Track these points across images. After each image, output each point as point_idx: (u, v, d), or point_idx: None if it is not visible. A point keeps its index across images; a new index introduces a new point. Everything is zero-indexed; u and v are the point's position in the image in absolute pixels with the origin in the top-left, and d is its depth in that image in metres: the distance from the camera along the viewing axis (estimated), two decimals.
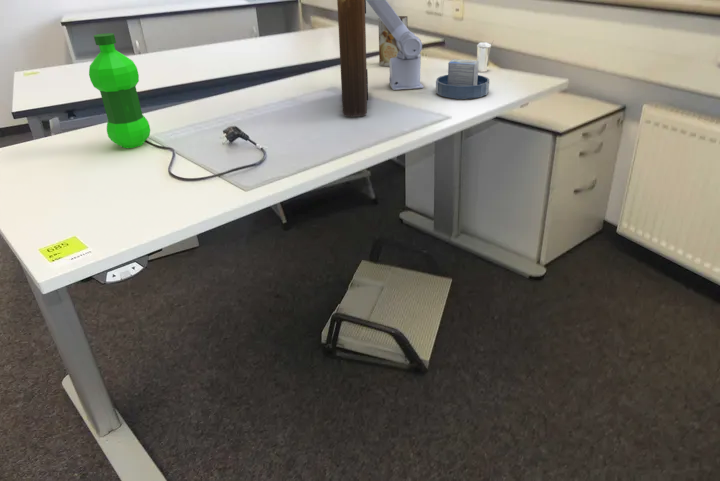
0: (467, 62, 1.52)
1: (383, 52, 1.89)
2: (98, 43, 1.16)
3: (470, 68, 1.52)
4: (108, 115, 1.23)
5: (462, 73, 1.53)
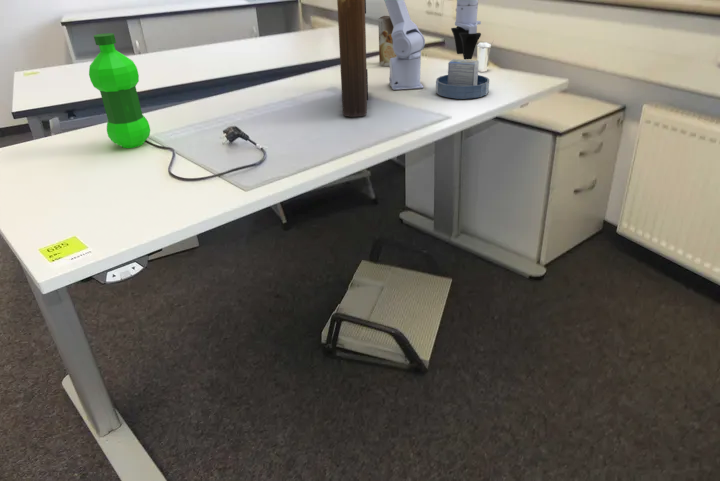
0: (467, 62, 1.52)
1: (383, 52, 1.89)
2: (98, 43, 1.16)
3: (470, 68, 1.52)
4: (108, 115, 1.23)
5: (462, 73, 1.53)
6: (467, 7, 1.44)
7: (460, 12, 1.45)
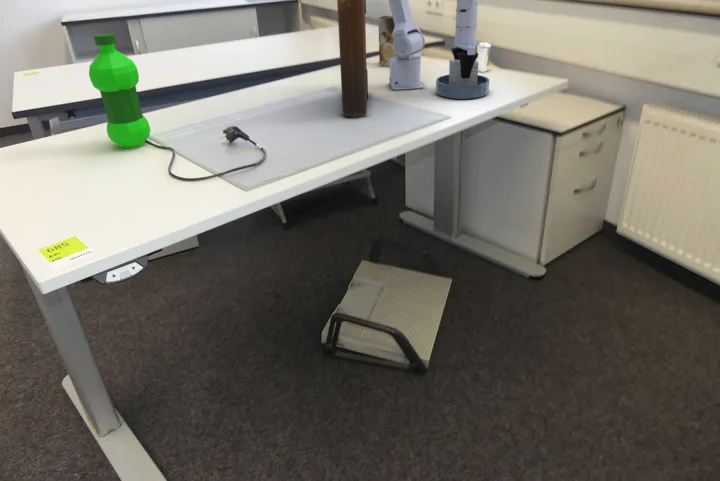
0: None
1: (383, 52, 1.89)
2: (98, 43, 1.16)
3: (473, 67, 1.52)
4: (108, 115, 1.23)
5: None
6: (466, 29, 1.47)
7: (459, 33, 1.48)
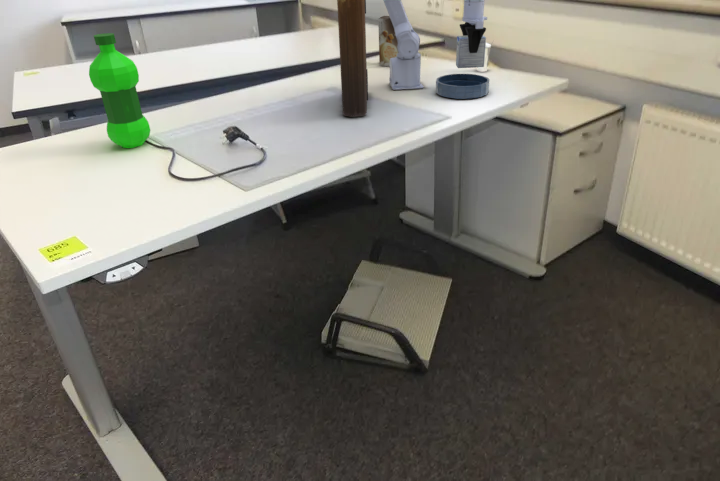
0: None
1: (383, 52, 1.89)
2: (98, 43, 1.16)
3: (481, 42, 1.56)
4: (108, 115, 1.23)
5: None
6: (474, 3, 1.50)
7: (467, 8, 1.52)
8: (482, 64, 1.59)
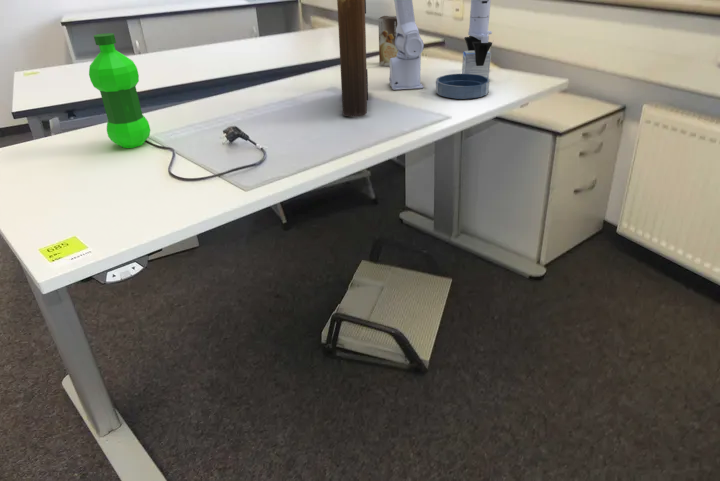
0: None
1: (383, 52, 1.89)
2: (98, 43, 1.16)
3: (486, 57, 1.65)
4: (108, 115, 1.23)
5: None
6: (480, 19, 1.59)
7: (473, 23, 1.61)
8: None
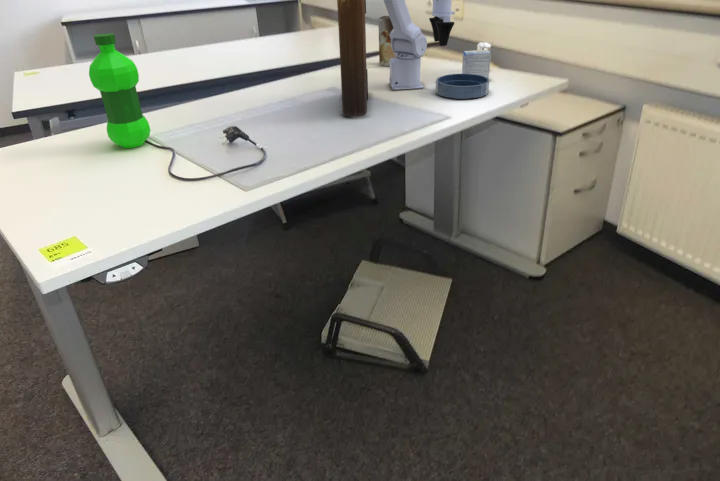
0: (482, 52, 1.66)
1: (383, 52, 1.89)
2: (98, 43, 1.16)
3: (486, 57, 1.65)
4: (108, 115, 1.23)
5: (478, 62, 1.66)
6: None
7: (436, 3, 1.63)
8: None
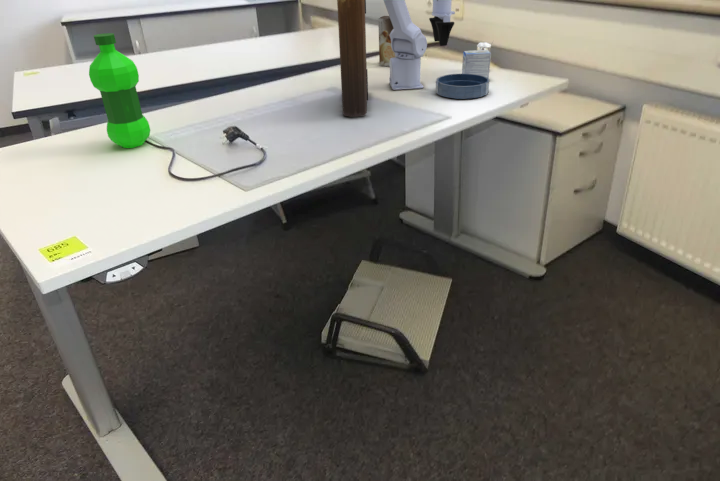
0: (482, 52, 1.66)
1: (383, 52, 1.89)
2: (98, 43, 1.16)
3: (486, 57, 1.65)
4: (108, 115, 1.23)
5: (478, 62, 1.66)
6: None
7: (436, 3, 1.63)
8: None
